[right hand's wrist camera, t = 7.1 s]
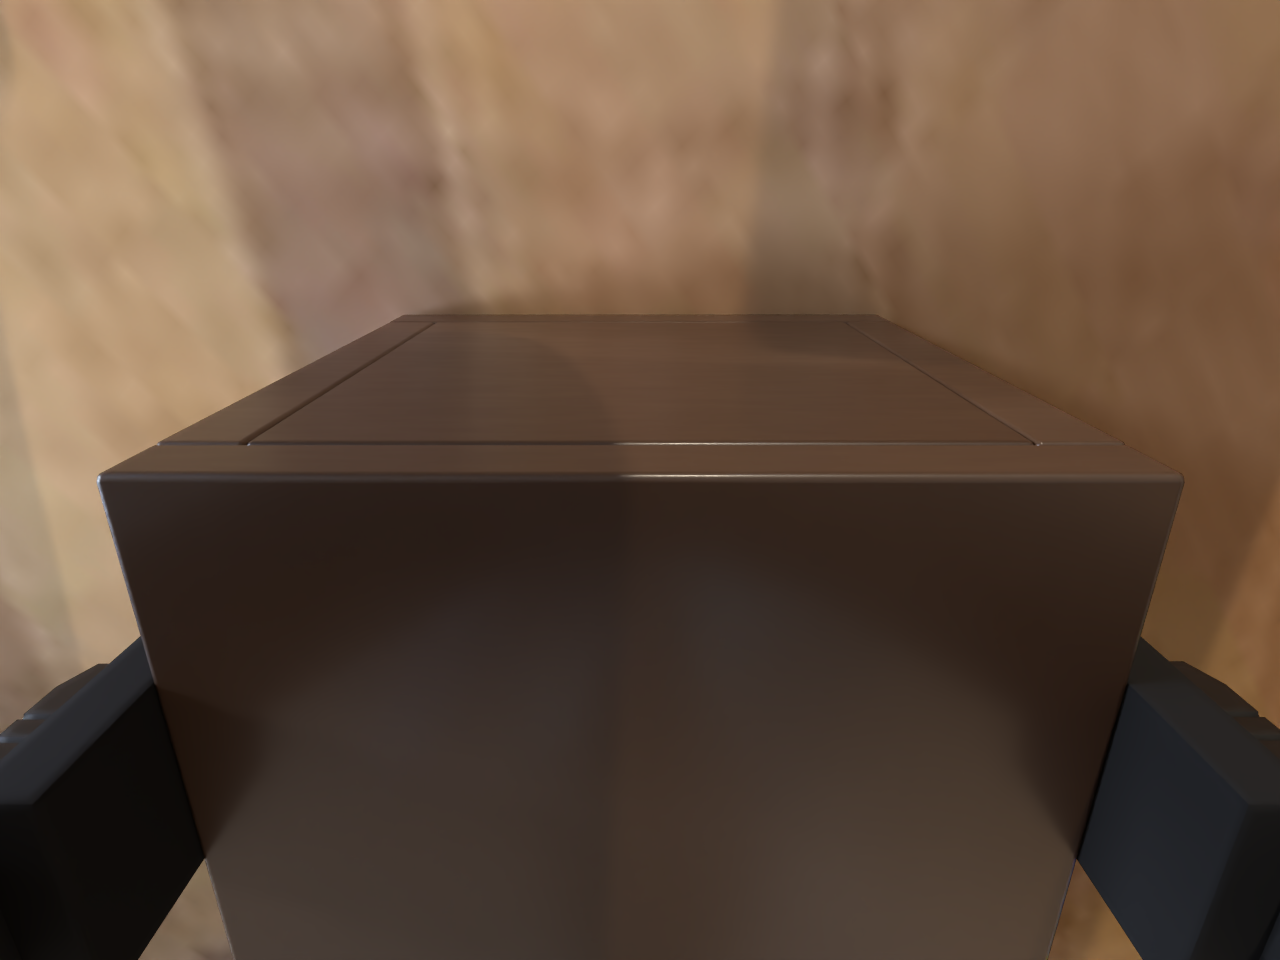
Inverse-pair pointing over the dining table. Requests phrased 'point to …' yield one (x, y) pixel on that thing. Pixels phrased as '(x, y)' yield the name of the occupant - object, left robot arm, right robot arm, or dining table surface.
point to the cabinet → (640, 641)
